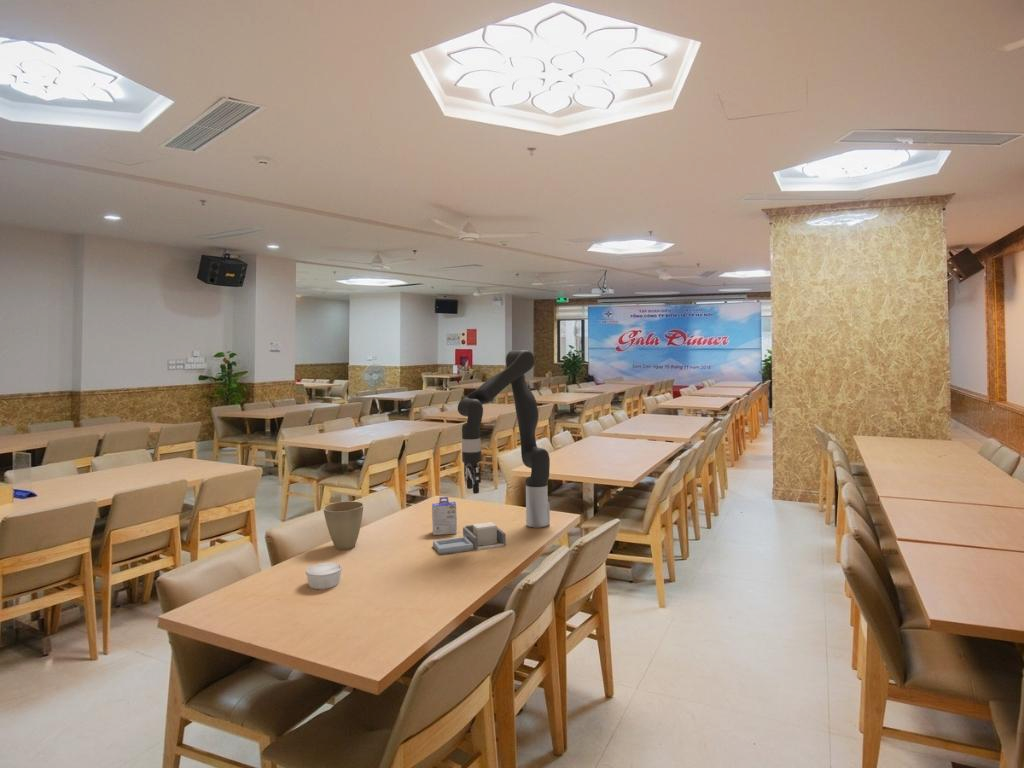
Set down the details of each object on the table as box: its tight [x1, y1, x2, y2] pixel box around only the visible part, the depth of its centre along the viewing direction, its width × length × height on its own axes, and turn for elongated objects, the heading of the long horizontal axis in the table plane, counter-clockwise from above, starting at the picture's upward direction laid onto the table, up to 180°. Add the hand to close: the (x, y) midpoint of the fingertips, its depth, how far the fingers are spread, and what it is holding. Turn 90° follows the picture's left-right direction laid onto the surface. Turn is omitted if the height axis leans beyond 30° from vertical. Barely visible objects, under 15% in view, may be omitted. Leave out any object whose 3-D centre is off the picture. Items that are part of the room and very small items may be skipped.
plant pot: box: [322, 500, 364, 551], centre depth 226 cm, size 15×15×16 cm
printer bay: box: [462, 524, 507, 551], centre depth 230 cm, size 13×15×5 cm
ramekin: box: [305, 561, 343, 590], centre depth 190 cm, size 11×11×5 cm
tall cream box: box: [472, 521, 498, 547], centre depth 229 cm, size 8×5×7 cm, turn 112°
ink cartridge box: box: [431, 496, 458, 536], centre depth 242 cm, size 10×6×14 cm, turn 98°
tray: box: [432, 536, 475, 556], centre depth 223 cm, size 13×10×2 cm
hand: (472, 490), depth 230 cm, fingers open, 8 cm apart
